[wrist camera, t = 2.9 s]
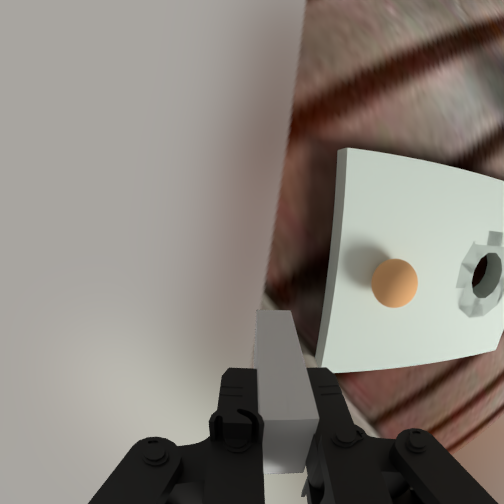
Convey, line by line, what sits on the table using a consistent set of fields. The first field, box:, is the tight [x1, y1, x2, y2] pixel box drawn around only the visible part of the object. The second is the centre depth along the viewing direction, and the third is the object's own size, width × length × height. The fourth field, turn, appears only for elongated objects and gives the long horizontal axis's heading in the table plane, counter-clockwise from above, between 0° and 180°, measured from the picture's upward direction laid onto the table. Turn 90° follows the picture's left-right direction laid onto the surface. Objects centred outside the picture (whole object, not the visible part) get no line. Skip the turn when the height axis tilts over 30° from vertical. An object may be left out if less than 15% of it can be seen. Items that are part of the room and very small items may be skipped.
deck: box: [315, 148, 504, 373], centre depth 22 cm, size 22×18×2 cm
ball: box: [371, 259, 418, 308], centre depth 19 cm, size 4×4×4 cm
